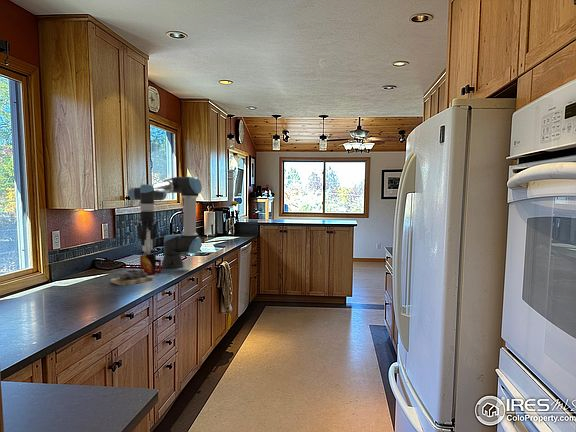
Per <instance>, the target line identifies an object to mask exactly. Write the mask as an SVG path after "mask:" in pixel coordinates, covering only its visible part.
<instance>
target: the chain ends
mask: <svg viewBox="0 0 576 432" xmlns="http://www.w3.org/2000/svg"><path fill="white" fill-rule="evenodd" d="M153 278H154V277H153V276H152V275H148V273H144V269H140V268H139V269H130V270H125V271H117V272H115V278H110V283H111V284H116V285H119V286H122V287H123V286H124V287H126V286H131V285H136V284H141V283H146V282H151V281H154V279H153Z"/></svg>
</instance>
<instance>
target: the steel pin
mask: <svg viewBox="0 0 576 432" xmlns="http://www.w3.org/2000/svg"><path fill="white" fill-rule="evenodd" d="M145 240H146V251H143V253H144V254H143V255H152V254H151V253H152V252H151V251H152V250H151V230H148V229H146V236H145Z"/></svg>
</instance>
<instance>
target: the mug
mask: <svg viewBox="0 0 576 432" xmlns="http://www.w3.org/2000/svg"><path fill="white" fill-rule="evenodd" d="M139 258H140V259H139V264H140V265H139V266H140V267H139V269H144V273H148V276H152V275H153V276H155V275H156V274H162V260H161V259H157V255H156V254H141V255H140V256H139ZM157 263H158V270H157Z"/></svg>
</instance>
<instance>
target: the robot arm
mask: <svg viewBox="0 0 576 432" xmlns="http://www.w3.org/2000/svg"><path fill="white" fill-rule="evenodd" d="M202 188H203V187H202V183H201V181H200V179H199V177H196V176H175V177H171V178H166V179H164V180H163V181H161V182H158V183H153V184H141V185H140V186H139V187H131V188H130V189H129V191H128V196H129V199H130V200H134V201H139V202H140V204H139V205H140V216H139V217H140V220H139V221H137V222H136V223H135V224H136V230H137V239H138V240H140V241H141V242H140V243H141V244H140V245H141V248H142V249H141V250H142V251H143V252H144V251H146V240H145V236H146V230H151V251H153V250H154V249H153V245H154V240H155V238H157V236H158V235H157V233H158V232H157V231H158V224H159V221H156V220H155V201H164V200H166V198H167V195H168V194H181V197H182V199H183V232H182V233H180V234H179V233H175V234H170V235H169V234H168V235H165V236H164V237H163V258H162V260H161V269H162V268H163V269H179V268H182V267H184V262H183V257H182V254H190V255H191V254H197V253H198V252H199V251H200V250H201V247H202V238H201V237H199V234H198V232H197V198H198V197H199V194H201V193H202V190H203V189H202Z"/></svg>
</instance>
